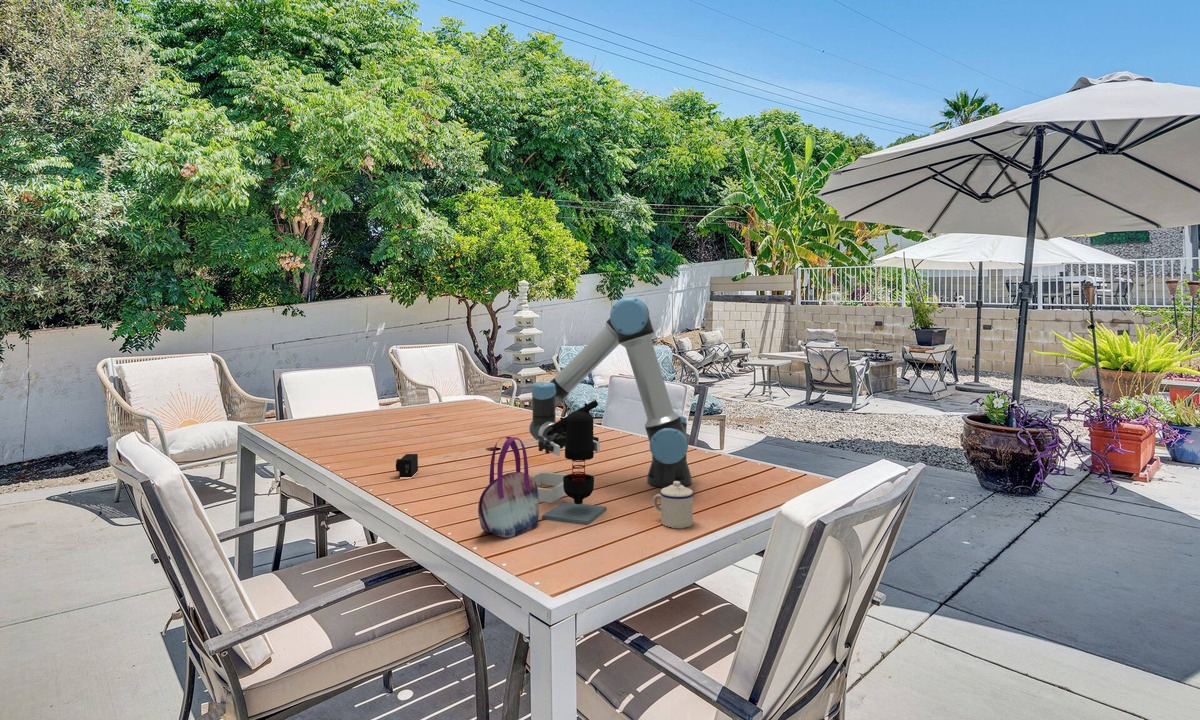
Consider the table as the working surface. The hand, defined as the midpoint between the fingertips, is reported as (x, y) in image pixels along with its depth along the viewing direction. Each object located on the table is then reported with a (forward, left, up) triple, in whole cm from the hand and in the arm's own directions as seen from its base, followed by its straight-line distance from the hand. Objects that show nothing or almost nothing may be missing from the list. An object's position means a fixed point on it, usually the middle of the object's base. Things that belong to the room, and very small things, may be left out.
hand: (578, 449), depth 173 cm
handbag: (+14, +15, -20) cm, 28 cm away
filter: (+3, -3, -17) cm, 17 cm away
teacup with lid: (-25, -6, -20) cm, 33 cm away
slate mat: (+3, -3, -20) cm, 20 cm away
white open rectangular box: (+21, -20, -20) cm, 35 cm away
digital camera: (+78, -22, -20) cm, 83 cm away
